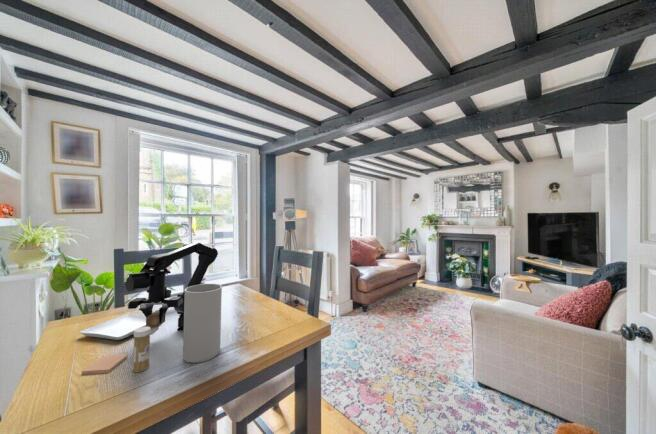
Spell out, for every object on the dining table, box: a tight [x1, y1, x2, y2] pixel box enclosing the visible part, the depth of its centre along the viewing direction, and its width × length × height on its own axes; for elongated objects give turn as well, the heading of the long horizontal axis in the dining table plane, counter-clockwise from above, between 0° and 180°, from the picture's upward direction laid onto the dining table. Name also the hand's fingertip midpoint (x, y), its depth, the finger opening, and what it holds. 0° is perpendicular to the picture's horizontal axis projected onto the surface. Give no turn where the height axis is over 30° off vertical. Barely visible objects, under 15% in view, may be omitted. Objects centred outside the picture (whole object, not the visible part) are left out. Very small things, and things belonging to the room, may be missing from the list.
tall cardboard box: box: [146, 309, 166, 336], centre depth 101 cm, size 6×13×5 cm, turn 9°
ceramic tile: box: [81, 354, 128, 375], centre depth 85 cm, size 8×2×9 cm
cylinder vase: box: [182, 283, 223, 364], centre depth 93 cm, size 12×12×25 cm
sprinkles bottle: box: [132, 327, 151, 373], centre depth 83 cm, size 5×5×13 cm
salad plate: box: [79, 313, 146, 341], centre depth 112 cm, size 21×21×3 cm
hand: (155, 323), depth 103 cm, fingers closed on tall cardboard box, 3 cm apart
